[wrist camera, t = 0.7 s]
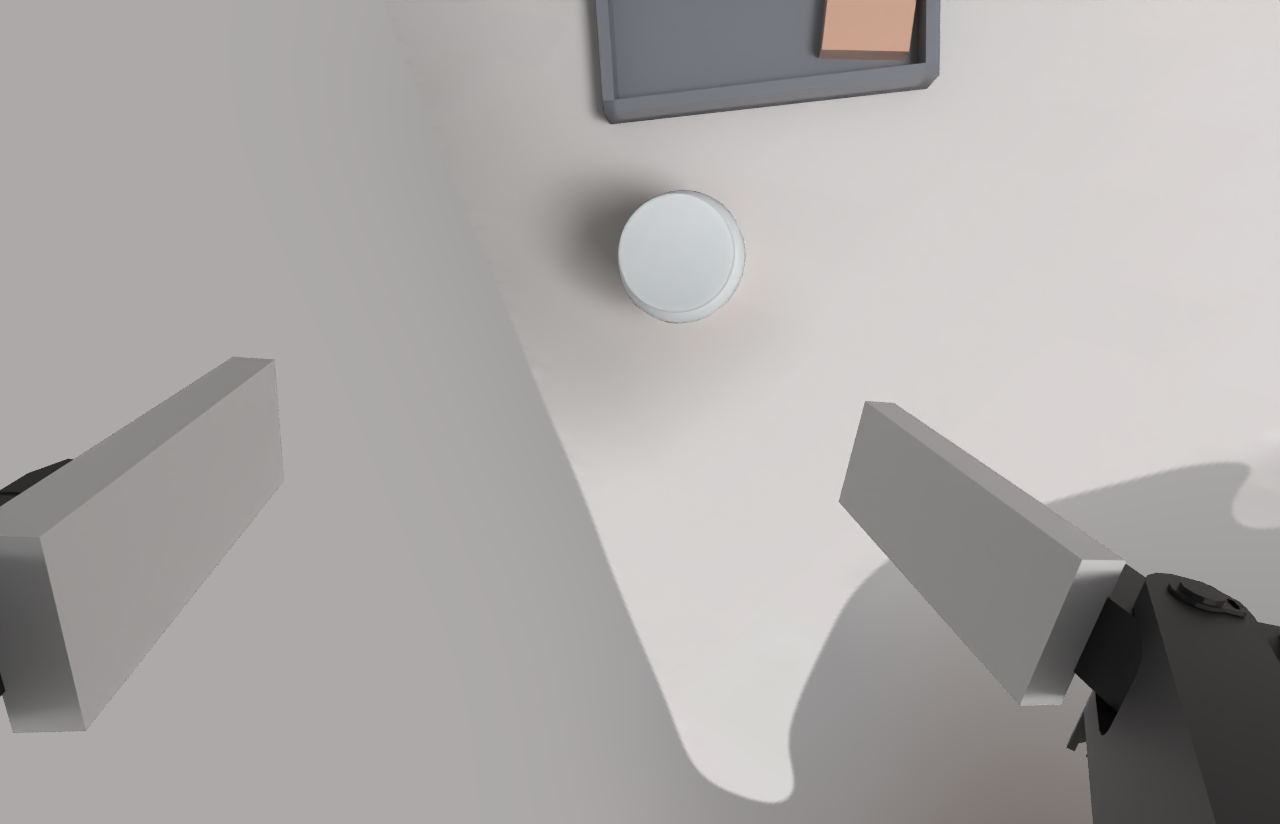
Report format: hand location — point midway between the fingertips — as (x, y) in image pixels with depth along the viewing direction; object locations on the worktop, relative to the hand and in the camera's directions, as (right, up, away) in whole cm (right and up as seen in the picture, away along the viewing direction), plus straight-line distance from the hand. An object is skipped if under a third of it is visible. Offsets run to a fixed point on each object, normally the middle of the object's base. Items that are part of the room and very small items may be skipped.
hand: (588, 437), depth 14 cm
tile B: (+12, +20, +16) cm, 29 cm away
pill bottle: (+4, +9, +21) cm, 23 cm away
